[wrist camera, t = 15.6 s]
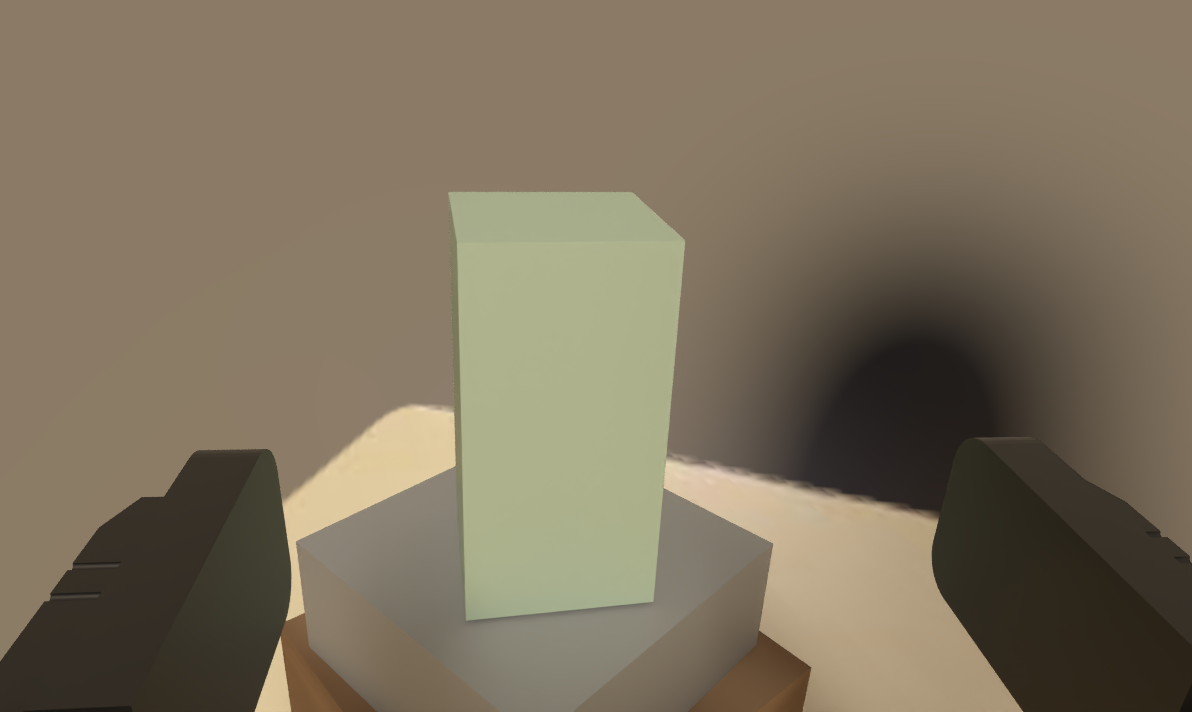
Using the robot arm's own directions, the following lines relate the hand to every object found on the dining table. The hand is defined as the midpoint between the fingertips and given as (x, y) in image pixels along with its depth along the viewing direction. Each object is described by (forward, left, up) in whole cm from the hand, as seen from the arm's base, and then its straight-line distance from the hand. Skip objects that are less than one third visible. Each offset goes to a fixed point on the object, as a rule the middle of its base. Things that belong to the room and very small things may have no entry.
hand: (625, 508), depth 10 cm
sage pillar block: (-6, -10, -10) cm, 15 cm away
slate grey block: (-7, -10, -14) cm, 18 cm away
